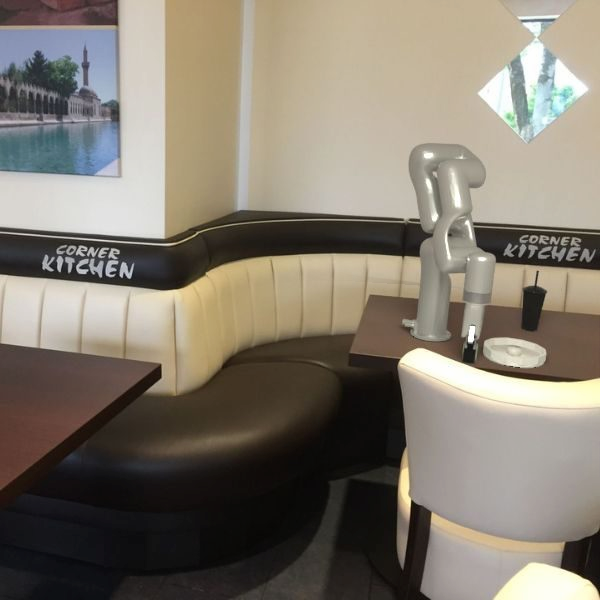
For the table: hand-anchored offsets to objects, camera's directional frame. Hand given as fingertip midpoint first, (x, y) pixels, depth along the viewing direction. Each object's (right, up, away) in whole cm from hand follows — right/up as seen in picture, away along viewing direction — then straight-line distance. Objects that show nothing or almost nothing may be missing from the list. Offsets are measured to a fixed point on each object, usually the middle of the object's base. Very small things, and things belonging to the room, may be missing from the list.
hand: (469, 358), depth 170 cm
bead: (0, 0, 0) cm, 1 cm away
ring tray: (+14, 0, +4) cm, 14 cm away
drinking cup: (+29, +7, +31) cm, 43 cm away
